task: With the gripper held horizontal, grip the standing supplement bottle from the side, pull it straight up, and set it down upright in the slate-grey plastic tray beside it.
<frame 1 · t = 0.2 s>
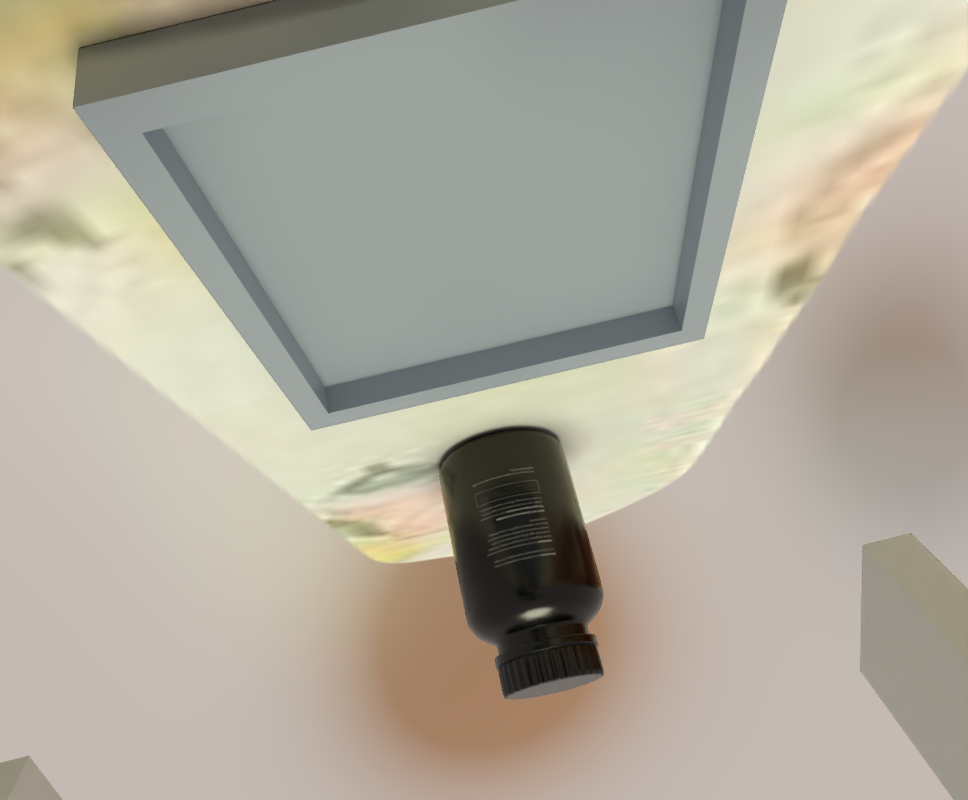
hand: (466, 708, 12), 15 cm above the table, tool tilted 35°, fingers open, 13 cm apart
tray: (470, 209, 24), on the table
supplement bottle: (499, 453, 41), on the table
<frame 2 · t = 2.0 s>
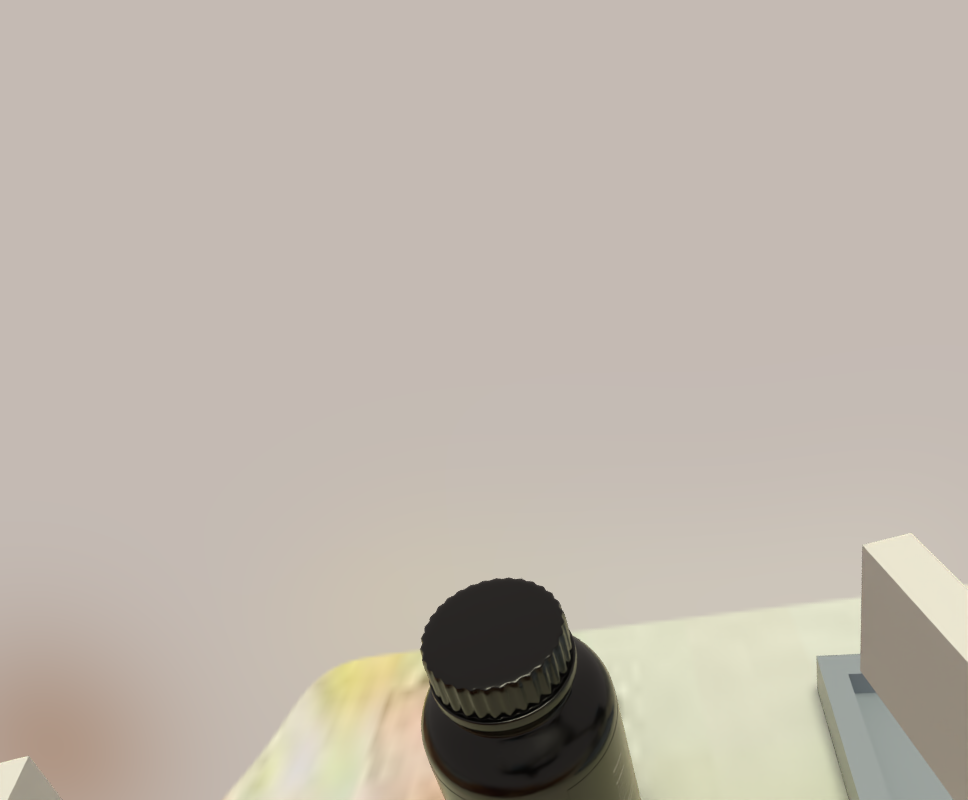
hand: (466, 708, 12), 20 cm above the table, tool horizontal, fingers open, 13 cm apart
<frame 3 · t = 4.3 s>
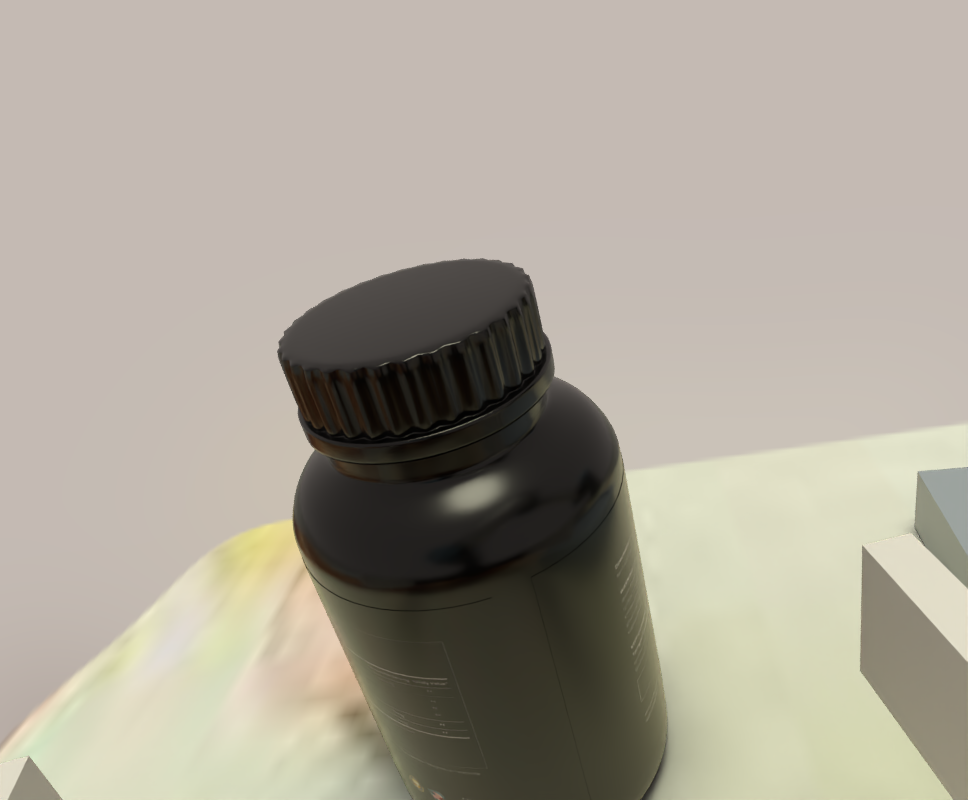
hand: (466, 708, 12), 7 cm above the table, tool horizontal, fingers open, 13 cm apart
supplement bottle: (533, 741, 19), on the table
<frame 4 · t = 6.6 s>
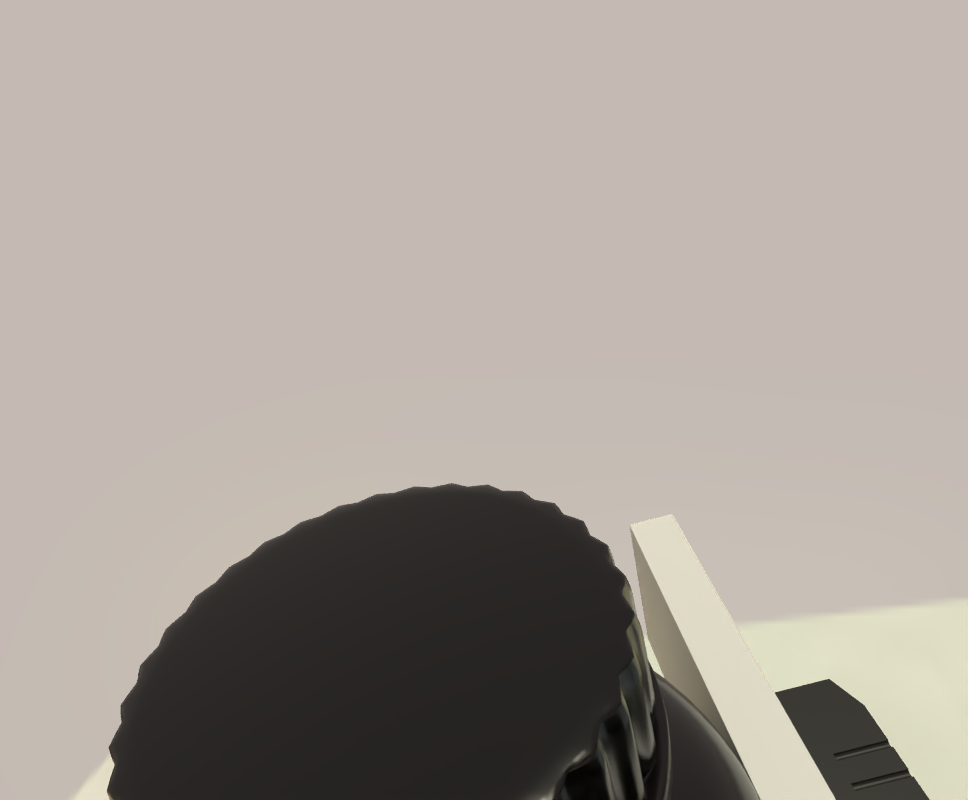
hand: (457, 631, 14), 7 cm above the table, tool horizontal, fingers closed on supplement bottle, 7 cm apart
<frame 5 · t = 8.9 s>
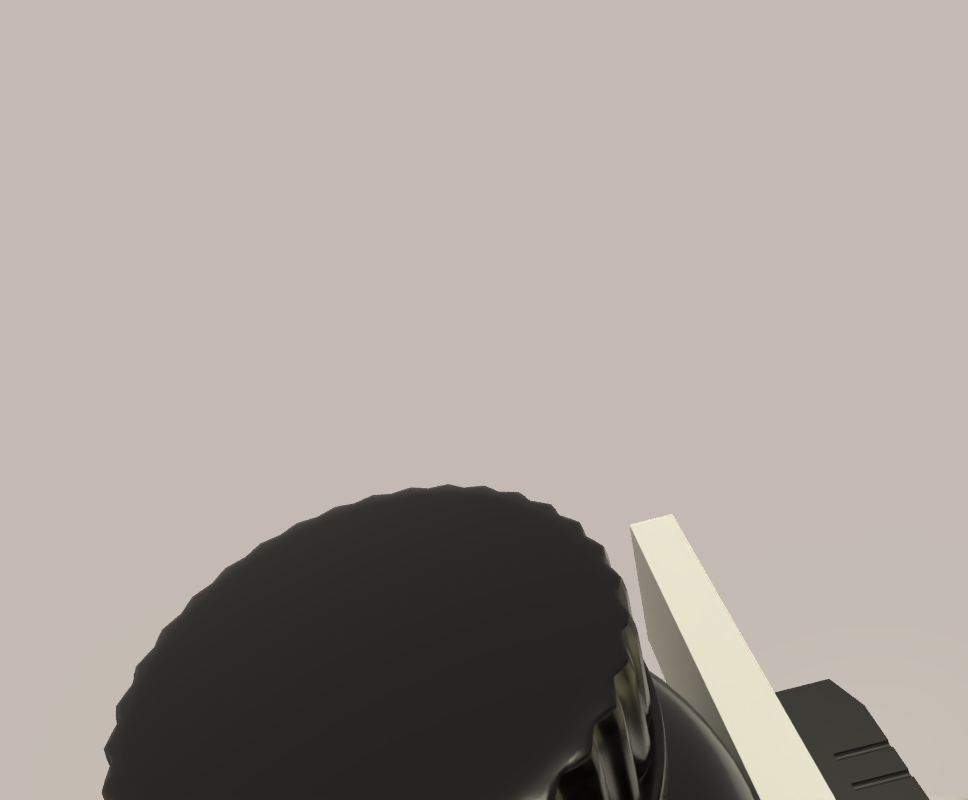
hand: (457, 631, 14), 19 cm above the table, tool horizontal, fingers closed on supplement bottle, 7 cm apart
when the fingers open (9 cm above the table, at t = 11.7 s): supplement bottle drops 1 cm, resting on tray.
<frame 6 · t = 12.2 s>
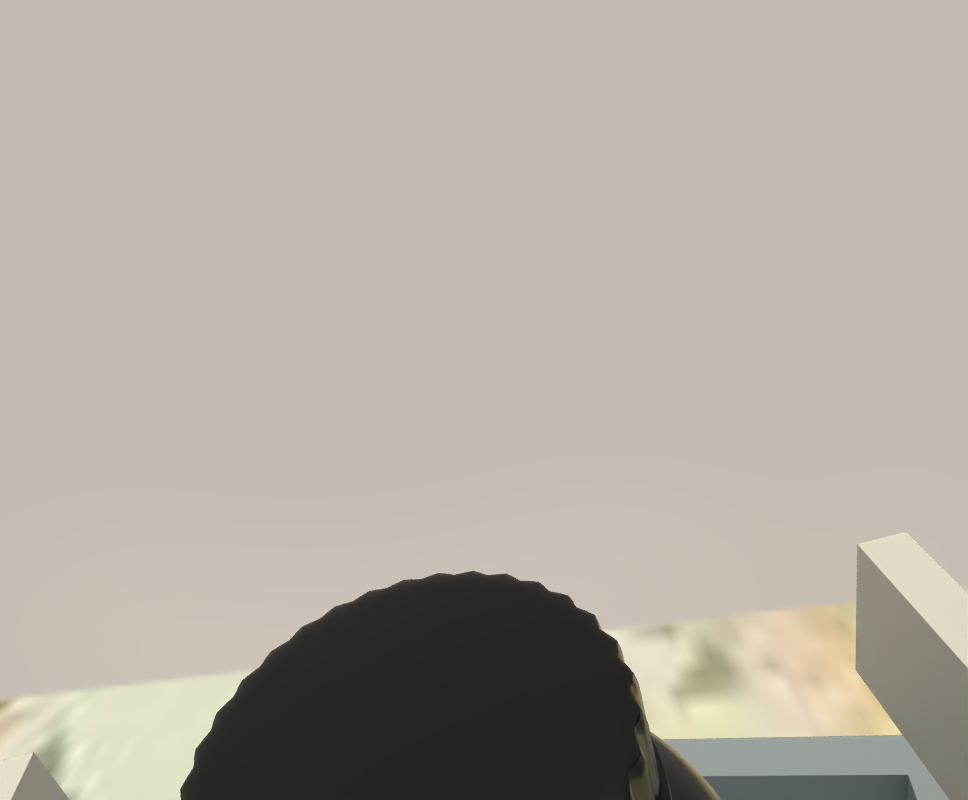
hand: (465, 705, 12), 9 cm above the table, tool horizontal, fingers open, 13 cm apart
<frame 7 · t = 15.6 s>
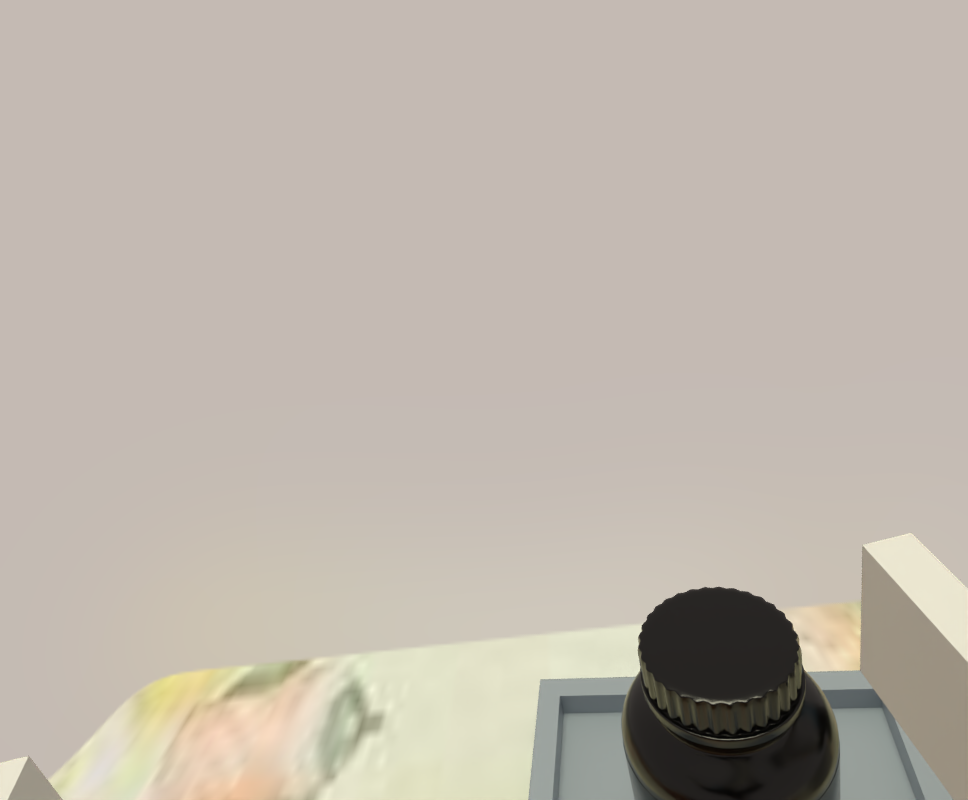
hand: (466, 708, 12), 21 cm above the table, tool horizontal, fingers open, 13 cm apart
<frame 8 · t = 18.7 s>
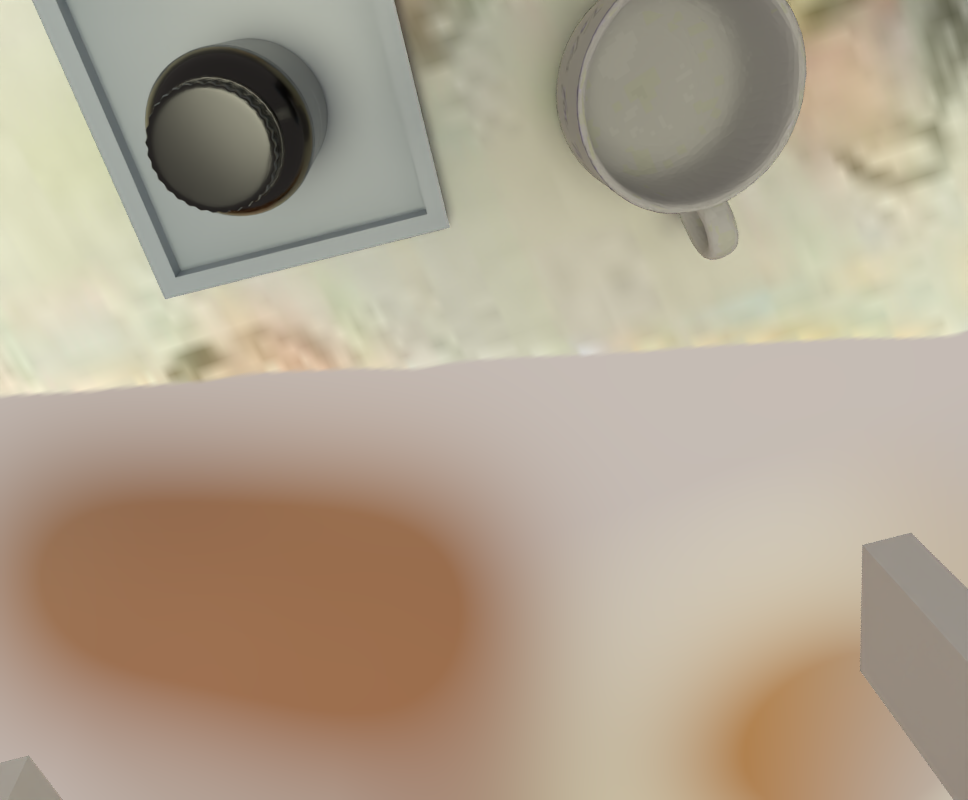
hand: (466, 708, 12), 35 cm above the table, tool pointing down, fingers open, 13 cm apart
teacup: (644, 112, 42), on the table
tray: (261, 107, 40), on the table
supplement bottle: (261, 111, 39), point 1 cm above the table, touching tray
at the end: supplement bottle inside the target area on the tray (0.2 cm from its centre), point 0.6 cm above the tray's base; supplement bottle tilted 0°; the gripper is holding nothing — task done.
